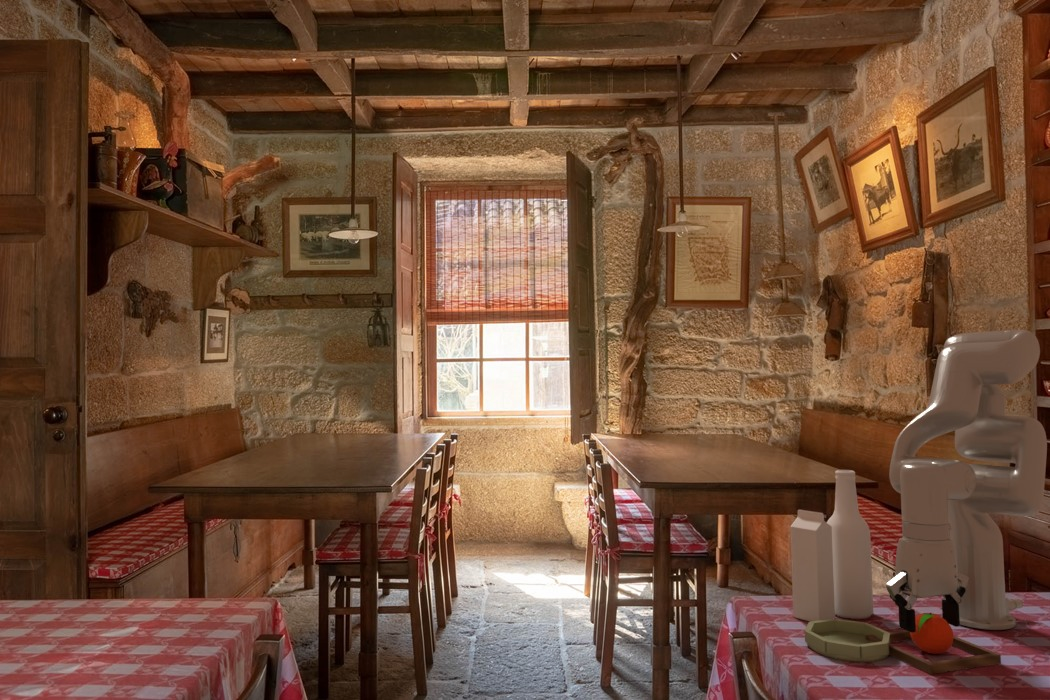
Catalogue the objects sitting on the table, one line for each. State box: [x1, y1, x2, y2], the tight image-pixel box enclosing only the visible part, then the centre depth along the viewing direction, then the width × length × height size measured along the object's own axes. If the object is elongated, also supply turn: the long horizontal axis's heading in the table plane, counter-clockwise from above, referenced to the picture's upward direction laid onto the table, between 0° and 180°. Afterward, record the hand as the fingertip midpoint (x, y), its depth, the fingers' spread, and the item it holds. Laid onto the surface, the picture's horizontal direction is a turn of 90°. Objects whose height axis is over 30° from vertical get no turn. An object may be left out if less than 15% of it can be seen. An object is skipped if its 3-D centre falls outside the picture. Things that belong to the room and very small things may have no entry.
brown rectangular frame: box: [866, 629, 1002, 675], centre depth 130 cm, size 15×15×2 cm
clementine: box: [910, 612, 954, 655], centre depth 130 cm, size 8×7×7 cm
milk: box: [789, 509, 836, 622], centre depth 150 cm, size 6×6×22 cm
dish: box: [804, 618, 891, 663], centre depth 133 cm, size 14×14×3 cm
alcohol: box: [826, 469, 874, 620], centre depth 153 cm, size 9×9×30 cm
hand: (929, 627), depth 130 cm, fingers open, 9 cm apart
